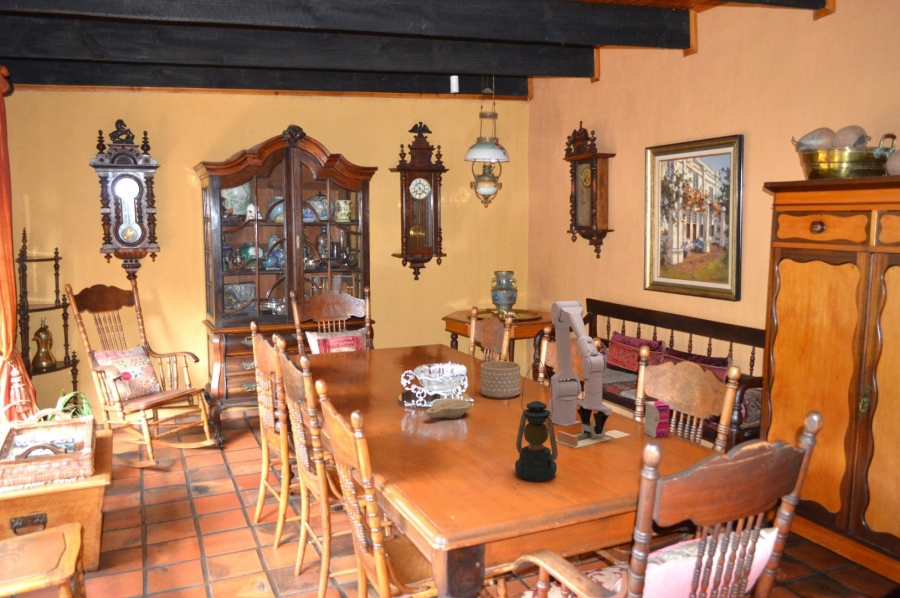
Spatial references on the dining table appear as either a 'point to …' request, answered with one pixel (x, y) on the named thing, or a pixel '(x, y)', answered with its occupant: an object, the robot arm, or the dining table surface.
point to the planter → (500, 379)
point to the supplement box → (656, 419)
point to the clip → (592, 430)
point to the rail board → (577, 439)
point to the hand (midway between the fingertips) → (592, 431)
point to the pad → (616, 434)
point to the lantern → (536, 442)
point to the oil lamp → (448, 408)
